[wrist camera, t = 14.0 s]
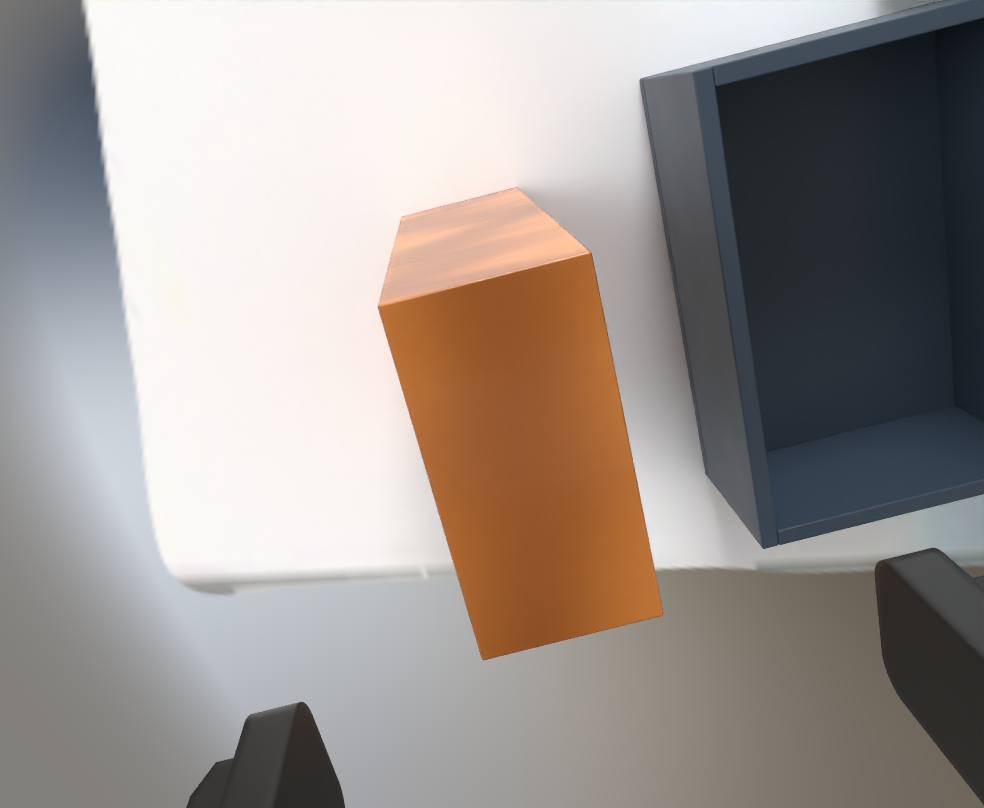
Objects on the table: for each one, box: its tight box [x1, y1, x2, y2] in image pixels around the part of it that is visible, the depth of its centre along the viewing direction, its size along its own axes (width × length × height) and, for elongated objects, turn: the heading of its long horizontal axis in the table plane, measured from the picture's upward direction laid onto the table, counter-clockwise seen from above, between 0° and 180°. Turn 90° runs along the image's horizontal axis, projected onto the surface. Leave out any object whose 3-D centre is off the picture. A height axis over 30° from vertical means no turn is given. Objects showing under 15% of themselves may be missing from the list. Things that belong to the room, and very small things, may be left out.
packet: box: [378, 187, 663, 660], centre depth 25 cm, size 4×9×15 cm, turn 14°
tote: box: [640, 0, 984, 549], centre depth 30 cm, size 11×16×6 cm
